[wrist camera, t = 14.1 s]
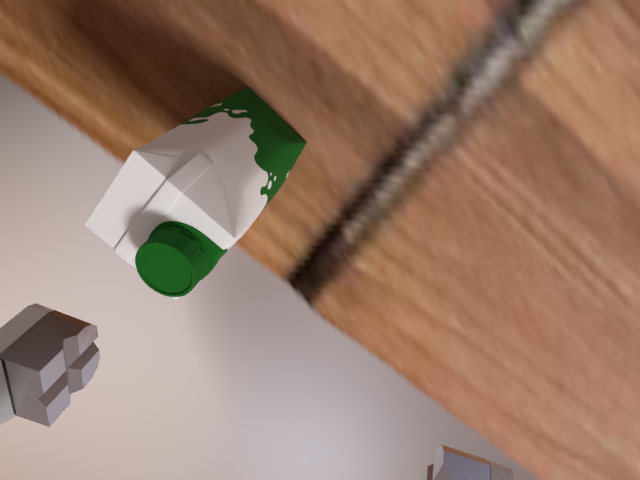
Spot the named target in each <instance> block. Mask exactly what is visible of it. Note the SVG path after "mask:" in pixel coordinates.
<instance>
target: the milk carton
mask: <svg viewBox="0 0 640 480" xmlns="http://www.w3.org/2000/svg"><path fill="white" fill-rule="evenodd" d="M306 143H307V142H306V141H305V140H304V139H303V138H302V137H301V136H300V135H299V134H298V133H297V132H295V131H294V130H293V129H292V128H291V127H290V126H289V125H288V124H287V123H286V122H285V121H284V120H283V119H282V118H281V117H280V116H279V115H278V114H277V113H275V112H274V111H273V110H272V109H271V108H270V107H269V106H268V105H267V104H266V103H265V102H264V101H263V100H262V99H261V98H260V97H259V96H258V95H256V94H255V93H254V92H253V91H252V90H251V89H250V88H249V87H248V88H246V89H244V90H242V91H240V92H238V93H236V94H234V95H232V96H230V97H228V98H226V99H224V100H223V101H221V102H219V103H217V104H215V105H213V106H211V107H209V108H207V109H206V110H204V111H202V112H200V113H199V114H197V115H195V116H194V117H192V118H190V119H189V120H187V121H185V122H184V123H182V124H180V125H179V126H177V127H175V128H174V129H172V130H170V131H169V132H167V133H165V134H164V135H162V136H160V137H159V138H157V139H155V140H153V141H152V142H150V143H148V144H147V145H145V146H142V147H140V148H138V149H135V150H133V151H132V153H131V154H130V156H129V157H128V159H127V160H126V162H125V163H124V165H123V166H122V168H121V169H120V171H119V172H118V174H117V175H116V177H115V178H114V180H113V181H112V183H111V184H110V186H109V187H108V189H107V190H106V192H105V194H104V195H103V197H102V198H101V200H100V201H99V203H98V204H97V206H96V207H95V209H94V210H93V212H92V213H91V215H90V216H89V218H88V219H87V221H86V222H85V226H86V227H88V228H89V229H90V230H91V231H92V232H94V233H95V234H96V235H97V236H99V237H100V238H101V239H102V240H104V241H105V242H106V243H107V244H108V245H110V246H111V247H112V248H114V252H115V253H116V254H117V255H118V256H119V257H121V258H122V259H123V260H124V261H126V262H128V263H129V264H131V265H132V266H133V267H135V268H136V269H137V271H138V273H139V275H140V277H141V278H142V280H143V281H144V282H145V283H146V284H147V285H148V286H149V287H150V288H152V289H153V290H154V291H156V292H158V293H160V294H162V295H165V296H170V297H172V298H173V299H177V298H178V297H180V296H184V295H186V294H187V293H189V292H190V291H191V290H192V289H193V288H194V287H195V285H196V284H197V283H198V282H199V281H200V280H202V279H203V278H204V277H205V276H206V275H208V274H209V273H210V272H211V271H212V269H213V268H214V267H215V265H216V264H217V262H218V260H219V259H220V258H221V257H222V256H223V255H224V254H225V253H226V252H227V250H228V249H229V248H230V247H231V246H232V245H233V244H234V243H235V242H236V241H237V240H238V239H239V238H240V237H241V236H242V235H243V234H244V233H245V232H246V231H247V230H248V228H249V227H250V226H251V225H252V223H253V222H254V221H255V219H256V218H257V217H258V216H259V214H260V213H261V212H262V211H263V209H264V208H265V207H266V205H267V204H268V203H269V202H270V200H271V199H272V198H273V197H274V195H275V194H276V193H277V191H278V190H279V188H280V187H281V186H282V184H283V183H284V181H285V180H286V178H287V176H288V175H289V173H290V171H291V169H292V167H293V166H294V164H295V162H296V160H297V158H298V157H299V155H300V153H301V151H302V150H303V148H304V146H305V144H306Z"/></svg>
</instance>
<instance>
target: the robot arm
mask: <svg viewBox="0 0 640 480" xmlns="http://www.w3.org/2000/svg"><path fill="white" fill-rule="evenodd" d="M97 337H98V333H97V326H95V325H92V324H90V323H87V322H84V321H82V320H79V319H77V318H74V317H71V316H69V315H66V314H63V313H60V312H58V311H55V310H53V309H50V308H47V307H44V306H41V305H39V304H33V305H30V306H28V307H26V308H25V309H24V310H22V311H21V312H20V313H19V314H17V315H16V316H15V317H14V318H13V319H11V320H10V321H9V322H7V323H6V324H5V325H4V326H2V327H1V328H0V424H3V423H5V422H7V421H9V420H10V419H12V418H14V417H15V416H14V415H16V416H19V417H22V418H25V419H28V420H31V421H34V422H37V423H40V424H43V425H46V426H48V427H50V426H51V425H52V424H53V422H54V421H55V420H56V419H57V418H58V417H59V416H60V414H61V413H62V412H63V411H64V410H65V409H66V408H67V406H68V405H69V404H70V395H71V393H73V392H76V391H78V390H81V389H83V388H84V387H85V386H86V385H87V383H88V382H89V381H90V380H91V378H92V376H93V375H94V373H95V371H96V369H97V367H98V363H99V358H100V355H99V349H98V348H97V346H96V345H95V344H94V342H93V341H94V340H95V339H96V338H97ZM422 480H515V475H514V472H513V470H512V469H510V468H507V467H504V466H502V465H499V464H496V463H493V462H490V461H487V460H485V459H483V458H480V457H477V456H474V455H471V454H468V453H465V452H462V451H459V450H456V449H453V448H450V447H447V446H444V445H441V446H439V447H438V449H437V450H436V452H435V454H434V464H432V465H430V466H427V469H426V470H425V473H424V475H423V477H422Z"/></svg>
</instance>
